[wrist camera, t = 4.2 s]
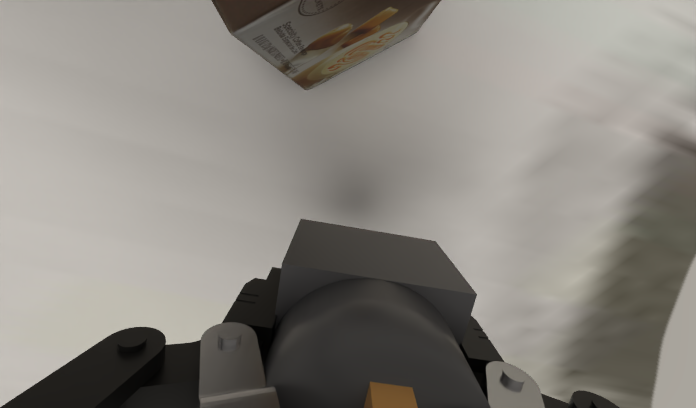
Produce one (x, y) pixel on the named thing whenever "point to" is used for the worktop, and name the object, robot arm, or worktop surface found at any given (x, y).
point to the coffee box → (321, 31)
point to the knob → (370, 323)
